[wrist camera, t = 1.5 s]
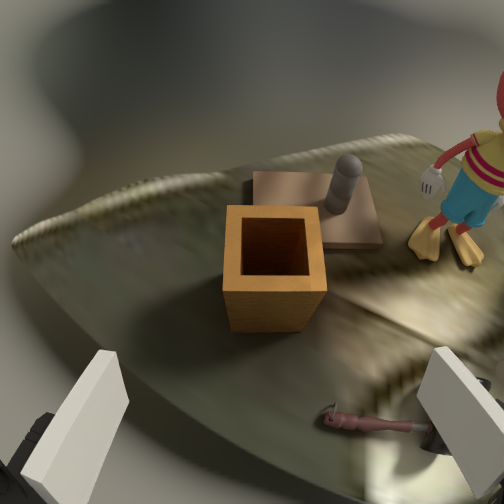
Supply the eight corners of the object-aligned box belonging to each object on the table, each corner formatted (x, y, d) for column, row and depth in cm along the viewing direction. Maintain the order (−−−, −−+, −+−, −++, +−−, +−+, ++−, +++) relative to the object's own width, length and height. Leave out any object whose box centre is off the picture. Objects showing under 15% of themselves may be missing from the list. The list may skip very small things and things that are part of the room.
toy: (405, 260, 36) (539, 59, 10) (396, 199, 41) (482, 13, 15) (485, 271, 36) (615, 130, 9) (471, 215, 40) (568, 72, 14)
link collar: (297, 269, 36) (317, 206, 25) (301, 331, 32) (327, 290, 22) (233, 269, 36) (227, 205, 25) (231, 332, 32) (222, 290, 22)
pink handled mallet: (472, 383, 28) (451, 448, 25) (343, 352, 33) (318, 421, 30) (504, 381, 21) (479, 459, 18) (353, 345, 26) (321, 433, 24)
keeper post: (363, 183, 42) (383, 131, 34) (379, 249, 37) (410, 201, 28) (253, 178, 42) (254, 121, 33) (252, 247, 37) (254, 194, 28)
